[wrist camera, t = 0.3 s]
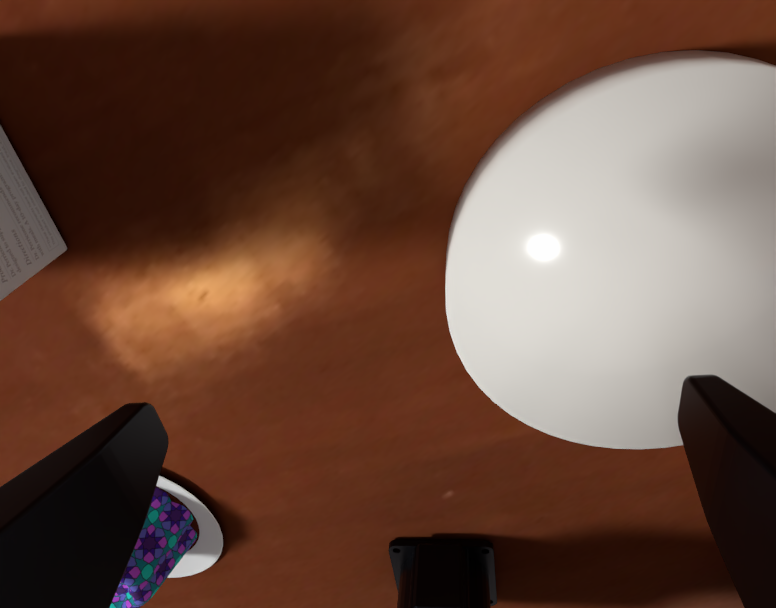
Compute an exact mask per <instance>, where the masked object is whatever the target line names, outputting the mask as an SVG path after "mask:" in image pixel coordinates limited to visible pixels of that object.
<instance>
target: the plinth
mask: <svg viewBox="0 0 776 608" xmlns="http://www.w3.org/2000/svg"><path fill="white" fill-rule="evenodd" d="M445 290H446V314H447V319H448V325H449V330H450V334H451V337H452V340H453V343H454V346H455V348H456V351H457V354H458V355H459V357H460V359H461V361H462V363H463V365H464V367H465V369H466V370H467V372H468V373H469V374H470V376H471V377H472V379H473V380H474V381H475V383H476V384H477V385H478V387H479V388H480V389H481V390H482V391H483V392H484V393H485V394H486V395H487V396H488V397H489V398H490V399H491V400H492V401H493V402H494V403H496V404H497V405H498V406H500V407H501V408H502V409H503V410H505V411H506V412H507V413H509V414H510V415H512V416H513V417H515V418H517V419H518V420H520V421H522V422H523V423H525V424H527V425H529V426H531V427H533V428H535V429H538V430H540V431H542V432H544V433H547V434H549V435H552V436H555V437H558V438H561V439H565V440H568V441H571V442H576V443H581V444H586V445H590V446H597V447H606V448H615V449H652V448H666V447H673V446H680V445H683V442H682V438H681V435H680V432H679V428H678V409H679V403H680V397H681V391H682V385H683V381H684V379H685V378H686V377H687V376H690V375H707V374H712V375H716V376H718V377H720V378H722V379H723V380H725V381H726V382H728V383H729V384H731V385H733V386H734V387H736V388H737V389H739V390H740V391H742V392H744V393H745V394H747V395H748V396H750V397H751V398H753V399H754V400H756V401H758V402H759V403H761V404H762V405H764V406H765V407H767V408H769V409H770V410H772V411H773V412H775V413H776V66H775V65H772V64H770V63H767V62H764V61H761V60H758V59H755V58H750V57H746V56H741V55H737V54H732V53H728V52H716V51H702V50H687V51H671V52H660V53H655V54H650V55H645V56H639V57H634V58H630V59H626V60H623V61H620V62H617V63H614V64H611V65H608V66H605V67H602V68H599V69H597V70H594V71H592V72H590V73H588V74H586V75H584V76H581V77H579V78H577V79H575V80H573V81H571V82H569V83H567V84H565V85H564V86H562V87H560V88H559V89H557V90H556V91H554V92H552V93H551V94H549V95H547V96H546V97H544V98H542V99H541V100H540V101H538V102H537V103H536V104H535V105H533V106H532V107H531V108H530V109H528V110H527V111H526V112H525V113H523V114H522V115H521V116H519V117H518V118H517V119H516V120H515V121H514V122H513V123H512V124H511V125H510V126H509V127H508V128H507V129H506V130H505V131H504V132H503V133H502V134H501V135H500V136H499V137H498V138H497V139H496V140H495V142H494V143H493V144H492V145H491V147H490V148H489V149H488V151H487V152H486V153H485V154H484V156H483V157H482V158H481V159H480V161H479V162H478V164H477V166H476V167H475V169H474V171H473V172H472V174H471V176H470V177H469V179H468V181H467V182H466V184H465V186H464V189H463V191H462V193H461V196H460V198H459V200H458V203H457V205H456V207H455V211H454V215H453V218H452V222H451V226H450V229H449V236H448V244H447V252H446V286H445Z"/></svg>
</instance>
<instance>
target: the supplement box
mask: <svg viewBox="0 0 776 608" xmlns="http://www.w3.org/2000/svg"><path fill="white" fill-rule="evenodd" d="M66 250H67V247H66V245H65V243H64V241H63V239H62V237H61V235H60V233H59V232H58V230H57V228H56V226H55V224H54V222H53V221H52V219H51V217H50V215H49V213H48V211H47V210H46V208H45V206H44V204H43V202H42V200H41V199H40V197H39V195H38V193H37V191H36V189H35V188H34V186H33V184H32V182H31V180H30V178H29V177H28V175H27V173H26V171H25V169H24V167H23V166H22V164H21V162H20V160H19V158H18V156H17V155H16V153H15V151H14V149H13V147H12V145H11V144H10V142H9V140H8V138H7V136H6V134H5V133H4V131H3V129H2V127H1V125H0V301H1V300H2V299H3V298H5V297H6V296H7V295H8V294H10V293H11V292H12V291H14V290H15V289H16V288H18V287H19V286H21V285H22V284H23V283H24V282H25V281H27V280H28V279H29V278H31V277H32V276H34V275H35V274H36V273H38V272H39V271H40V270H42V269H43V268H44V267H45V266H46V265H48V264H49V263H50V262H52V261H53V260H54V259H56V258H57V257H58V256H60V255H61V254H62V253H64V252H65V251H66Z"/></svg>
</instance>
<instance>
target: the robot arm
mask: <svg viewBox="0 0 776 608" xmlns="http://www.w3.org/2000/svg"><path fill="white" fill-rule="evenodd" d="M678 428H679V432H680V435H681V438H682V442H683V445H684V448H685V451H686V455H687V458H688V461H689V465H690V468H691V471H692V474H693V478H694V481H695V484H696V488H697V491H698V494H699V497H700V501H701V504H702V507H703V510H704V513H705V516H706V519H707V522H708V524H709V527H710V529H711V532H712V534H713V537H714V539H715V541H716V543H717V546H718V548H719V550H720V553H721V555H722V557H723V559H724V562H725V564H726V566H727V569H728V571H729V573H730V575H731V578H732V580H733V582H734V584H735V587H736V589H737V591H738V594H739V596H740V598H741V600H742V603H743V605H744V607H745V608H776V413H775V412H773V411H772V410H770V409H769V408H767V407H765V406H764V405H762V404H761V403H759V402H758V401H756V400H754V399H753V398H751V397H750V396H748V395H747V394H745V393H744V392H742V391H740V390H739V389H737V388H736V387H734V386H733V385H731V384H729V383H728V382H726V381H725V380H723V379H722V378H720V377H718V376H716V375H712V374H707V375H690V376H687V377H686V378H685V379H684V381H683V385H682V391H681V397H680V403H679V409H678ZM167 449H168V435H167V433H166V431H165V429H164V427H163V424H162V422H161V420H160V418H159V416H158V414H157V412H156V410H155V408H154V407H153V406H152V405H151V404H150V403H146V402H142V403H129V404H125V405H124V406H122V407H121V408H119V409H118V410H116V411H115V412H113V413H112V414H110V415H108V416H107V417H105V418H104V419H102V420H101V421H99V422H98V423H96V424H95V425H93V426H92V427H90V428H89V429H87V430H86V431H84V432H83V433H81V434H80V435H78V436H77V437H75V438H74V439H72V440H71V441H69V442H68V443H66V444H65V445H63V446H62V447H60V448H59V449H57V450H56V451H54V452H53V453H51V454H50V455H48V456H46V457H45V458H43V459H42V460H40V461H39V462H37V463H36V464H34V465H33V466H31V467H30V468H28V469H27V470H25V471H24V472H22V473H21V474H19V475H18V476H16V477H15V478H13V479H12V480H10V481H9V482H7V483H6V484H4V485H3V486H1V487H0V608H110V605H111V603H112V601H113V598H114V596H115V593H116V591H117V589H118V586H119V584H120V582H121V579H122V577H123V574H124V572H125V570H126V567H127V565H128V562H129V560H130V558H131V555H132V553H133V551H134V548H135V546H136V543H137V541H138V539H139V536H140V533H141V531H142V528H143V526H144V523H145V520H146V517H147V514H148V511H149V508H150V504H151V501H152V498H153V495H154V491H155V488H156V485H157V481H158V478H159V475H160V472H161V468H162V465H163V462H164V459H165V455H166V452H167ZM389 554H390V559H391V563H392V567H393V572H394V576H395V580H396V585H397V589H398V603H397V608H491V606H493V605H495V604H496V603H497V596H496V580H495V565H494V549H493V544H492V543H491V542H489V541H473V540H393V541H391V542H390V543H389Z"/></svg>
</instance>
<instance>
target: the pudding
mask: <svg viewBox="0 0 776 608" xmlns="http://www.w3.org/2000/svg"><path fill="white" fill-rule="evenodd" d="M156 486H158V487H159V488H161V489H163V490H165V491H167V492H169V493H170V494H172V495H173V496H175V497H176V498H178V499H179V500H180V501H181V502H182V503H184V504H185V505H186V506H187V507H188V509H189V510H190V511H191V512H192V513H193V515H194V517H195V518H196V520H197V523H198V525H199V539H198V541H197V543H196V545H195V546H194V547H193V548H192V549H190V550H189V548H190V547H191V546H192V544H193V543H194V542H195V540H196V539H197V532H196V531H195V530H194V529H193V528H192V527H191V526H190V524H191V523H192V521H193V517H192V515H191V512H190V511H189V510H187V509H186V508H185V507H184V506H183V505H180V504H177V503H175V502H172V501H171V500H170V498H169V496H168V494H167V493H166V492H164V491H162V490H161V489H159V488H158V487H156V488H155V491H154V495H153V498H152V501H151V504H150V508H149V511H148V514H147V517H146V520H145V523H144V526H143V528H142V531H141V533H140V536H139V539H138V541H137V543H136V546H135V548H134V551H133V553H132V555H131V558H130V560H129V562H128V565H127V567H126V570H125V572H124V574H123V577H122V579H121V582H120V584H119V586H118V589H117V591H116V593H115V596H114V598H113V601H112V603H111V605H110V608H139V607H140V606H142V605H144V604H145V603H146V602H148V601H149V600H150V599H151V597H152V596H153V595H154V594H155V593H156V591H157V590H158V589H159V587H160V586H161V585H162V583H163V582H164V581H165V580H166V578H174V577H184V576H190V575H193V574H196V573H200V572H202V571H204V570H206V569H207V568H209V567H211V566H212V565H213V564H214V563H215V562H216V561H217V560H218V558H219V556H220V555H221V552H222V548H223V535H222V532H221V529H220V526H219V524H218V523H217V521H216V519H215V518H214V516H213V514H212V513H211V512H210V511H209V510H208V509H207V507H206V506H205V505H204V504H203V503H202V502H200V501H199V500H198V499H197V498H196V497H195V496H194V495H192V494H191V493H189V492H188V491H186V490H185V489H183V488H182V487H181V486H179V485H177V484H175V483H173V482H171V481H170V480H168V479H166V478H164V477H161V476H159V478H158V481H157V485H156ZM188 550H189V551H188Z"/></svg>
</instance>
